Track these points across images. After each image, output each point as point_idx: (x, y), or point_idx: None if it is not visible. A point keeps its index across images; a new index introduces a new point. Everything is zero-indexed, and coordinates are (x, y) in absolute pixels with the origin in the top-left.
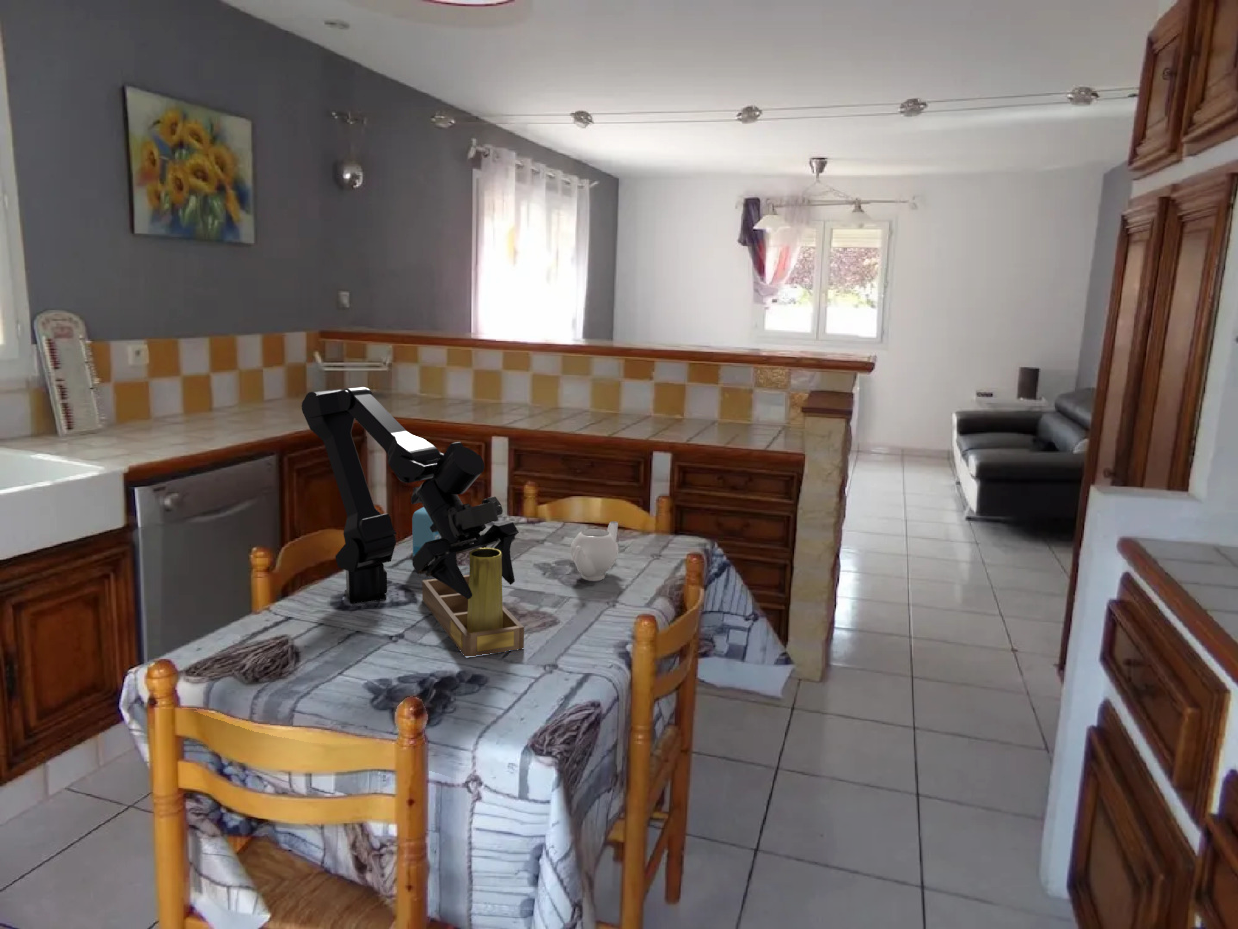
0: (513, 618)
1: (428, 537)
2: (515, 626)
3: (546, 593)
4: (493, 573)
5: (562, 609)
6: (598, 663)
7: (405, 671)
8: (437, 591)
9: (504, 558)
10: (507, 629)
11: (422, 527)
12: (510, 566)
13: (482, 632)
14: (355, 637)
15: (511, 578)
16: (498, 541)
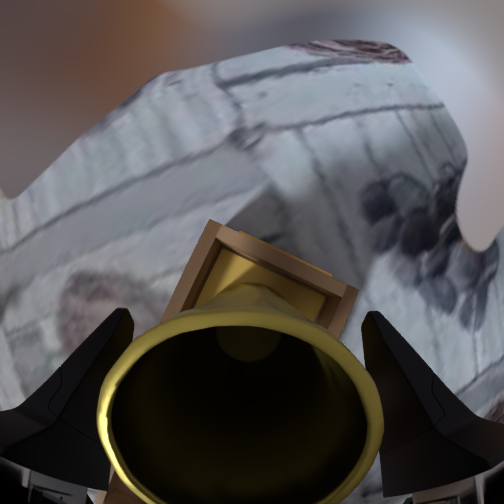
0: (184, 284)
1: None
2: (222, 239)
3: (20, 379)
4: (268, 301)
5: (36, 312)
6: (177, 98)
7: (434, 324)
8: None
9: (74, 397)
10: (252, 240)
11: None
12: (83, 352)
13: (314, 276)
14: None
15: (122, 319)
16: (33, 480)
